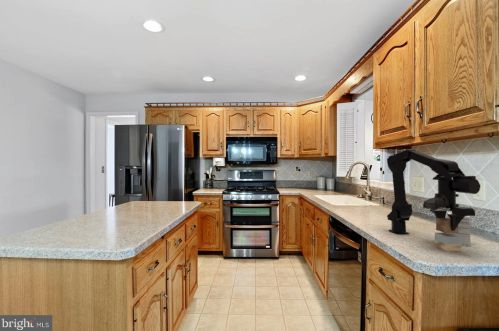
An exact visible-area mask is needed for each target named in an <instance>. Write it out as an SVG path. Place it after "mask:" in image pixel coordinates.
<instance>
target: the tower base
mask: <svg viewBox="0 0 499 331" xmlns="http://www.w3.org/2000/svg"><path fill="white" fill-rule="evenodd" d="M434 247H436V248H438V249H440V248H441V250H444V251H445V252H457V251H459V252H460V251H462V245H461V244H445V243H442V242H439V241H437V240H435V239H434Z"/></svg>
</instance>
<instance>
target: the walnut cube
mask: <svg viewBox="0 0 499 331" xmlns="http://www.w3.org/2000/svg"><path fill="white" fill-rule="evenodd" d="M435 225H436V226H435V230H436V231H437V232H440V233H443V232H444V233H458V226H457V228H456V229H455V231H452V230H451V224H450V218H448V217H445V218H436V217H435Z"/></svg>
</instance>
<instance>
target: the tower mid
mask: <svg viewBox="0 0 499 331" xmlns="http://www.w3.org/2000/svg"><path fill="white" fill-rule="evenodd" d="M435 240H437V241H439V242H442V243H445V244H461V236H458V235H455V234H452V233H444V232H434V241H435Z"/></svg>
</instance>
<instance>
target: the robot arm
mask: <svg viewBox="0 0 499 331" xmlns="http://www.w3.org/2000/svg"><path fill="white" fill-rule="evenodd" d="M411 161H415V162H417V163H419V164H421V165H424V166H426V167H428V168H430V169H431V171H432V172H434V173H435V174H436V175H435V176H434V177H433V178H432V180H433V181H437V192H436V193H434V197H431V198H428V199H426V200H424V201H423V203H422V207H423V208H424V209H426V210H429V211H430V212H431V213H432V214H434V217H435V219H436V218H447V217H448V216H449V217H450V224H451V230H452V231H455V229H456V228H457V226H458V225H459V223H460V222H461V220H462V219H463V218H464V217H465V216H470V217H475V216H476V210H475V209H474V208H473V207H467V206H459V203H457V198H458V197H459V193H461V194H469V195H477V194H478V193H479V192H480V190H481V184H480V181H479V180H478V179H477V178H476V175H466V174H465V173H464V172H463V171H462V169H461V168H460V167H459V164H458V162H457V161H454V160H451V159H450V160H448V159H441V158H436V157H434V156H431V155H428V154H425V153H422V152H420V151H418V150H415V149H412V148H411V149H408V148H407V149H404V150H403V151H400V152H398V153H395V154H392V155H389V156H388V158H386V163H387V167H388V169H389V170H390V172H391V175H392V185H393V197H394V201H393V203H392V205H391V211H389V213H388V214H387V216H386V218H387V220H388V221H391V229H388V231H389V232H390V233H391V232H392V233H393V234H395V235H406V234H407V235H408V234H410V232H408V231H407V224H406V222H407V221H408V222H409V221H410V219H411V217H412V214H413V212H414V211H413V205H412V204H411V203H409V202H408V201H407V194H406V184H405V174H404V172H405V170H406V168H407V163H408V162H411ZM447 211H449V212H451V213H452V214H448V212H447ZM446 216H447V217H446Z"/></svg>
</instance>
